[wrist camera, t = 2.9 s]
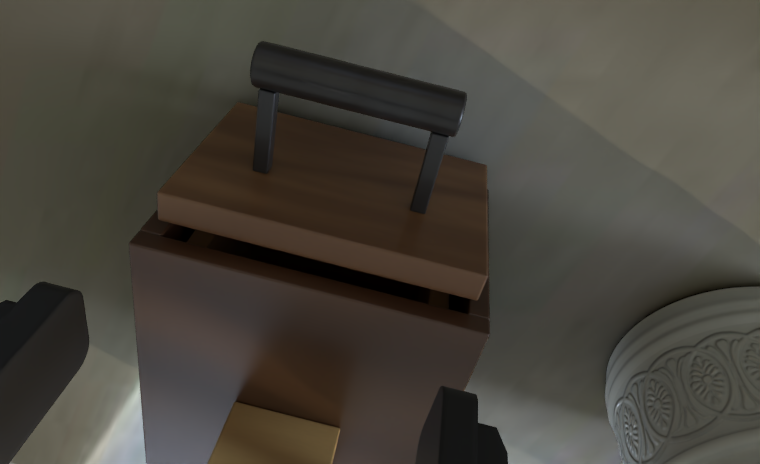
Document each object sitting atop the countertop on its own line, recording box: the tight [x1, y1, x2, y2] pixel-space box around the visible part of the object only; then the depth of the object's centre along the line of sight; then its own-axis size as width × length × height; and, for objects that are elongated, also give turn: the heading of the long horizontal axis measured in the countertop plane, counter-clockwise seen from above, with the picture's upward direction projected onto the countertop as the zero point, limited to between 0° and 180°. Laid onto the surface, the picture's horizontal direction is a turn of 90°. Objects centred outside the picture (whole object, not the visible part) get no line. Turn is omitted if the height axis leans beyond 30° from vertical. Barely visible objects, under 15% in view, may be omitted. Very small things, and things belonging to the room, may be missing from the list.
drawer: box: [157, 41, 488, 309], centre depth 25 cm, size 18×11×8 cm, turn 169°
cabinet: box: [129, 189, 490, 464], centre depth 27 cm, size 15×13×10 cm
